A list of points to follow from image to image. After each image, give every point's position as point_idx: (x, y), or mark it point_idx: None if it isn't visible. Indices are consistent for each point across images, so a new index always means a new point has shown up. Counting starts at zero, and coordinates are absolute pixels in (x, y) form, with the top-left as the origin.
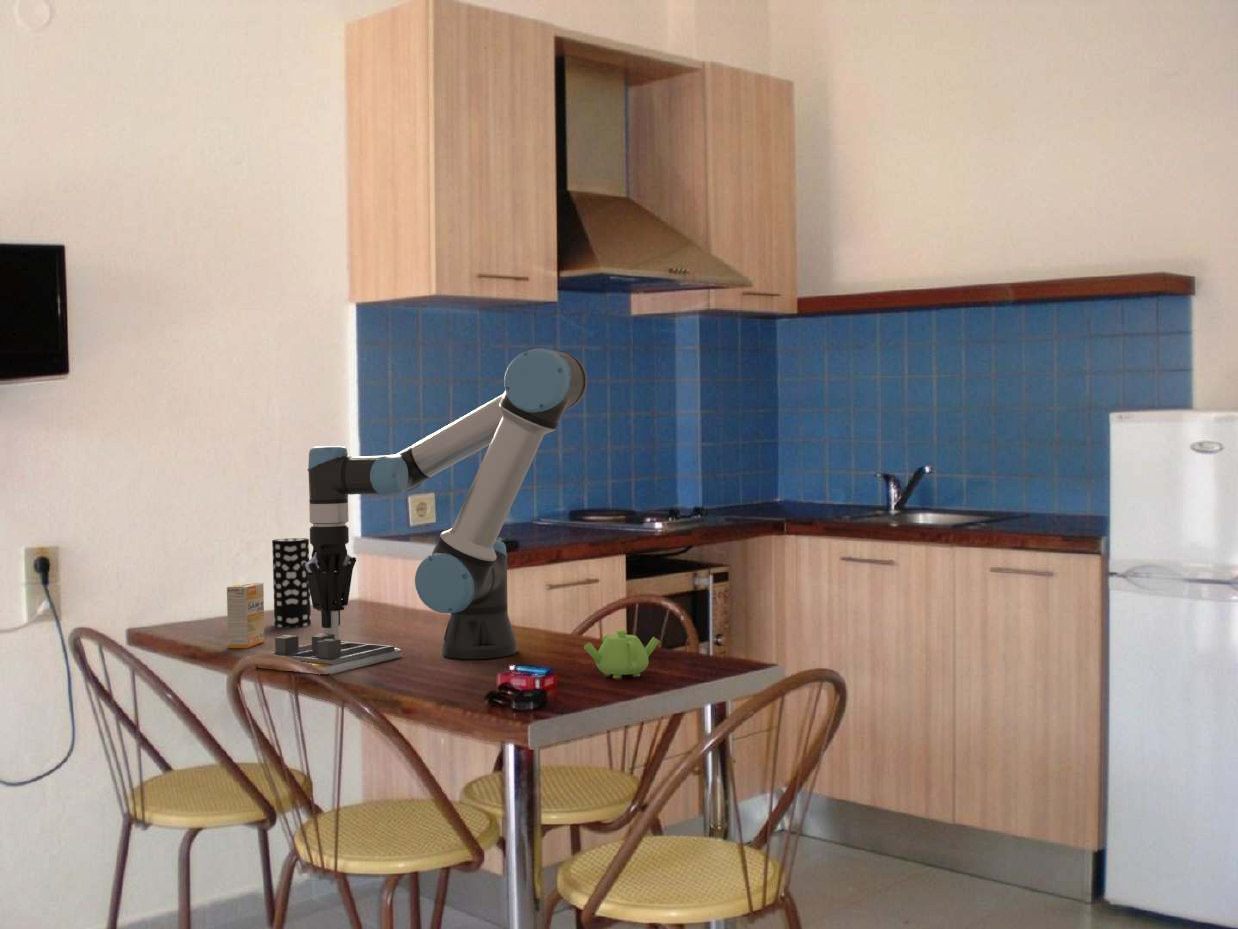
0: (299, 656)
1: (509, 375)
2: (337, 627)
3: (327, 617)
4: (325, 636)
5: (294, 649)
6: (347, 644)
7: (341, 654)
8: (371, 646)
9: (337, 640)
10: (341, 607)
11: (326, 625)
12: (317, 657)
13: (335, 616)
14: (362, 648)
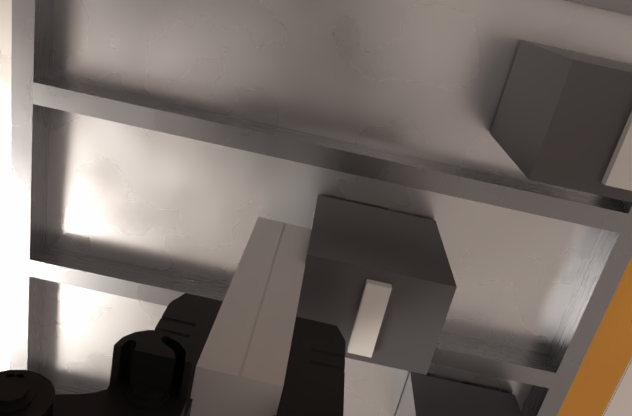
0: (585, 307)
1: None
2: (248, 278)
3: (334, 388)
4: (414, 277)
5: (448, 410)
6: (48, 258)
7: (332, 141)
8: (40, 62)
9: (612, 70)
10: (167, 361)
11: (343, 347)
12: (568, 197)
13: (257, 342)
14: (118, 95)
